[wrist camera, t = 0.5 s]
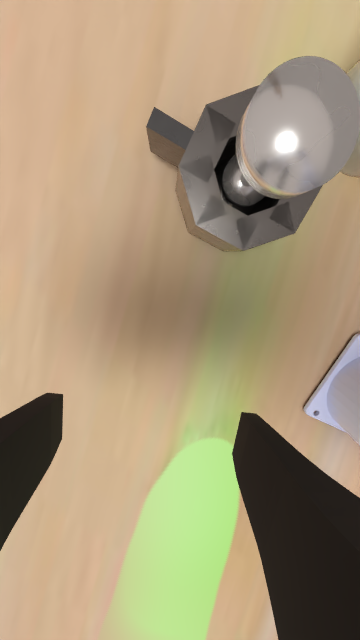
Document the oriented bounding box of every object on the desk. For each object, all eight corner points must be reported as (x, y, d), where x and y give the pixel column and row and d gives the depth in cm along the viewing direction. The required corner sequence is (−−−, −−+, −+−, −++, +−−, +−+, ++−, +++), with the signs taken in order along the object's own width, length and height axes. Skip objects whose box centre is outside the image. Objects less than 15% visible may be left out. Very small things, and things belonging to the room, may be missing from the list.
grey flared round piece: (289, 165, 14) (383, 99, 8) (255, 228, 15) (317, 212, 9) (232, 129, 13) (286, 27, 7) (200, 196, 14) (224, 155, 8)
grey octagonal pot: (296, 171, 17) (349, 139, 12) (246, 263, 19) (274, 268, 14) (178, 97, 16) (183, 27, 11) (133, 202, 17) (119, 183, 12)
